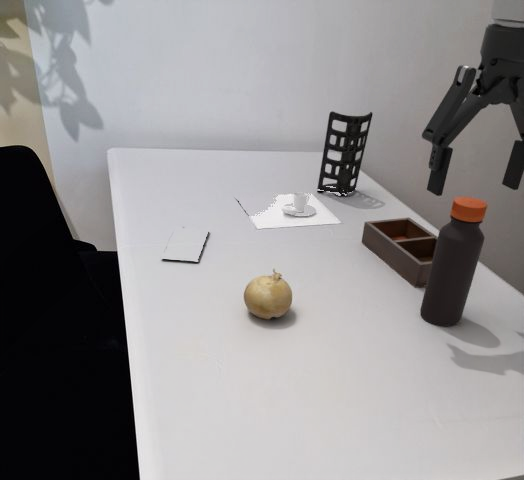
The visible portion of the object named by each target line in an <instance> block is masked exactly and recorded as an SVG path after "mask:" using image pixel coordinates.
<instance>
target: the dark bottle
mask: <svg viewBox="0 0 524 480" xmlns="http://www.w3.org/2000/svg"><path fill="white" fill-rule="evenodd" d="M487 209H488V203H487V202H486V201H484V200H482V199H480V198H476V197H472V196H458V197H455V198H454V199H453V201H452V206H451V209H450V215H449V218H450V221H449V222H448V223H446V224H445V225H443V226H442V227H441V228H440V230H439V232H438V236H437V237H438V239H437V243H436V247H435V252H434V256H433V260H432V264H431V268H430V272H429V276H428V280H427V284H426V286H425V288H424V292H423V297H422V301H421V305H420V309H419V312H420V316H421V318H422V319H424V320H425V321H426V322H428V323H430V324H433V325H435V326H440V327H452V326H456V325H458V324H460V322H461V320H462V317H463V313H464V310H465V307H466V303H467V300H468V297H469V293H470V290H471V286H472V283H473V279H474V276H475V273H476V269H477V266H478V263H479V259H480V256H481V252H482V249H483V246H484V242H485V238H486V237H485V234H484V232H483V231H482V229H481V228H480V225H481V224H483V221H484V219H485V216H486V212H487Z"/></svg>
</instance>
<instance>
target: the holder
mask: <svg viewBox="0 0 524 480" xmlns="http://www.w3.org/2000/svg"><path fill="white" fill-rule="evenodd" d="M372 119H373V112H372V111H370V112H369V113H368V114H365V115H347V114H342V113H339V112H336V111H332V110H331V111H330V112H329V116H328V121H327V127H326V133H325V140H324V147H323V152H322V159H321V166H320V171H319V177H318V182H317V188H316V190H317V189H320V190H324V191H330V192H339V193H340V194H342V193H345V194H347V192H352V191H353V192H354V191H355V190H356V189H357V184H358V180H359V176H360V171H361V167H362V161H363V158H364V153H365V149H366V144H367V140H368V136H369V132H370V127H371V123H372ZM334 121H338V122H341V123H346V126H345V131H342V130H338V129H334V128H333V123H334ZM364 123H367V124H366V125H367V126H366V129H365V130H363V131H362V127H363V124H364ZM332 136H335V143H334V144H332V143H331V137H332ZM343 138H344V139H343ZM342 139H343V145H342V146H341V141H342ZM330 150H331V151H334V152H338V153H341V155H340V159H339V160H337V159H333V158H329V157H328V156H329V151H330ZM359 152H360V155H359V158H358V159H356V157H357V153H359ZM327 165H329V166H330V165H331V168H330V172H327V171H326V168H327V167H326V166H327ZM337 167H338V172H337ZM336 172H337V174H336ZM325 179H328V180H333V181H336V183H335V182H334V183H327V184H324V180H325ZM353 180H354V182H353V185H351V184H352V181H353ZM326 186H333V187H336V188H330V187H326ZM355 188H356V189H355ZM343 190H344V191H343ZM353 192H352V193H353ZM334 195H335V196H337V195H336V194H334ZM343 196H344V197H345V198H346V197H347V196H345V195H343ZM338 197H339V198H341V197H342V196H338Z"/></svg>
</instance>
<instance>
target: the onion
mask: <svg viewBox="0 0 524 480" xmlns="http://www.w3.org/2000/svg"><path fill="white" fill-rule="evenodd" d="M275 270H276V269H275V268H273V269H272V272H273V274H271V275H260V276H259V275H258V276H257V277H255V278H253V279H251V280H250V281H249V282H248V283H247V285H246V286H245V288H244V291H243V301H244V305H245V307H246V308H247V310H248V311H249V312H250V313H251V314H252V315H254V316H255V317H257V318H259V319H262V320H271V318H280V317H282V316H284V315H285V314H286V313H287V312H288V311H289V309H290V308H291V306H292V303H293V291H292V288H291V286H290V285H289V283H288V282H287V281H286V280H285V279H284V278H283V277H282V275H283V274H282V273H281V272H276V271H275Z"/></svg>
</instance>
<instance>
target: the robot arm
mask: <svg viewBox="0 0 524 480" xmlns="http://www.w3.org/2000/svg"><path fill="white" fill-rule="evenodd" d="M488 17H489V18H490V20H492V23H489V24H487V26H485V30H484V34H483V38H482V42H481V46H480V50H479V54H480V59H481V60H480V63H479V65H478V67H477V68H476V67H472V66H470V65H469V66H468V65H465V64H459V65H458V67H457V68H456V71H455V75H454V78H453V81H452V83H451V85H450V87H449V89H448V90H447V92H446V94H445V95H444V96H443V98H442V100H441V102H440V103H439V105H438V107H437V108H436V110H435V111H434V113H433V115H432V116H431V118H430V120H429V121H428V122H427V125H426V127H425V128H424V129H423V131H422V133H421V138H422V139H423V140H425V141H427V142H429V143H431V145H432V147H431V151H430V156H429V161H428V169H430V172H429V177H428V181H427V186H426V191H428V192H430V193H432V194H433V195H435V196H436V197H441V196H443V192H444V188H445V184H446V180H447V177H448V172H449V168H450V164H451V159H452V155H453V151H454V148H453V147H450V144H452V143H453V142H454V140H455V139H456V138H457V137H458V136H459V135H461V133H462V132H463V130H464V129H466V127H467V126H468V125H469V124H470V123H471V122H472V121H473V119H474V118H475V117H476V116H477V115H478V114H479V113H480V112H481V110H484V109H486V108H487V107H488V106H489V105H491V106H498V105H500V104H503V105H506V106H507V105H508V106H509V109H510V112H511V114H512V117H513V120H514V122H515V126H516V128H517V131H518V134H519V137H520V139H521V140H520V139H514V142H513V146H512V149H511V151H510V156H509V159H508V161H507V165H506V169H505V172H504V175H503V179H502V182H501V185H503V186H505V187H507V188H509V189H511V190H513V191H518V190H519V187H520V185H521V181H522V178H523V175H524V0H492V2H491V6H490V11H489V14H488Z"/></svg>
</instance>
